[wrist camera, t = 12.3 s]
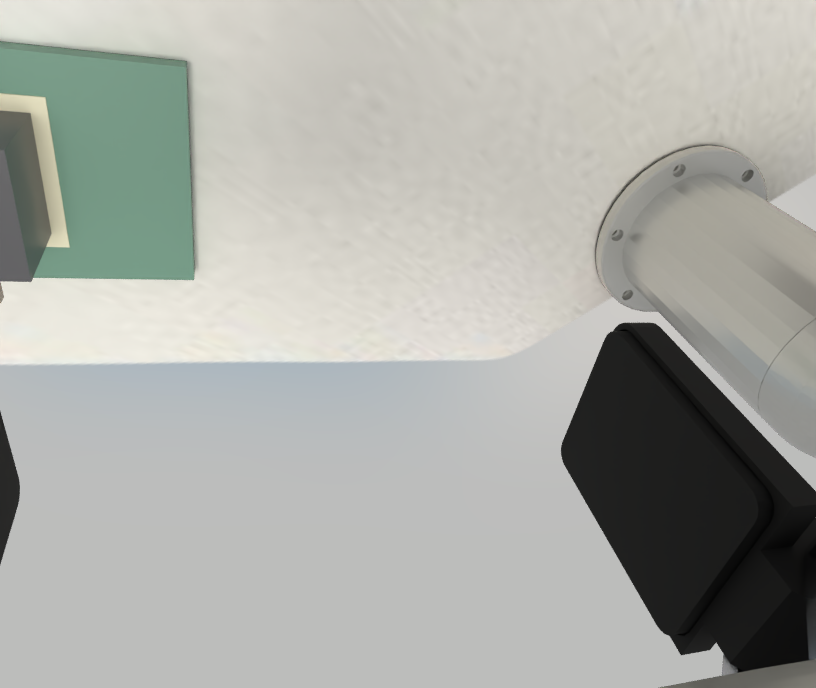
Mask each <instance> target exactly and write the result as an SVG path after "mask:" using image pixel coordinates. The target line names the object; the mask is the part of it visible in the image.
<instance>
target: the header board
mask: <svg viewBox="0 0 816 688" xmlns="http://www.w3.org/2000/svg"><path fill="white" fill-rule="evenodd" d="M0 111H13V112H25V113H31V119H32V124H33V130H34V136H35V142H36V147H37V153H38V159H39V164H40V170H41V176H42V181H43V187H44V193H45V199H46V204H47V210H48V216H49V221H50V227H51V233H52V234H51V236H50V239H49V241H48V243H47V246H46V248H45V251H44V253H43V255H42V258H41V260H40V262H39V265H38V267H37V269H36V272H35V274H34V276H33V278H94V279H164V280H194V244H193V218H192V192H191V166H190V139H189V113H188V87H187V61H179V60H170V59H160V58H151V57H142V56H132V55H123V54H113V53H104V52H94V51H85V50H75V49H66V48H57V47H47V46H38V45H28V44H19V43H9V42H0Z"/></svg>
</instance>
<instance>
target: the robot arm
mask: <svg viewBox="0 0 816 688" xmlns="http://www.w3.org/2000/svg"><path fill="white" fill-rule="evenodd" d="M596 265H597V270H598V275H599V277H600V279H601V281H602V283H603V285H604V287H605V288H606V289H607V290H608V292H609V293H610V294H611V295H612V296H613V297H614V298H615V299H616V300H617V301H618V302H620V303H621V304H623V305H625V306H627V307H629V308H631V309H635V310H640V311H658V312H659V313H660V314H661V315H662V316H663V317H664V318H665V319H666V320H667V321H668V322H669V323H670V324H671V325H672V326H673V327H674V328H675V329H676V330H677V331H678V332H679V333H680V334H681V335H682V336H683V337H684V338H685V339H686V340H687V341H688V343H690V345H691V346H692V347H694V348H695V350H696V351H697V352H698V353H699V354H700V355H701V356H702V357H703V358H704V359H705V360H706V361H707V362H708V363H709V364H710V365H711V366H712V367H713V368H714V369H715V370H716V371H717V372H718V373H719V374H720V375H721V376H722V377H723V378H724V379H725V380H726V381H727V383H728V384H729V385H730V386H731V387H733V389H734V390H735V391H736V392H737V393H738V394H739V395H740V396H741V397H742V398H743V399H744V400H745V401H746V402H747V403H748V404H749V405H750V406H751V407H752V408H753V409H754V410H755V411H756V412H757V413H758V414H759V415H760V416H761V417H762V418H763V419H764V420H765V421H766V422H767V423H768V424H769V425H770V426H771V427H772V428H773V429H774V430H775V431H776V432H777V433H778V434H779V435H780V436H781V437H782V438H783V439H785V440H786V441H787V442H788V443H789V444H791V445H792V446H794V447H795V448H797V449H798V450H800V451H802V452H804V453H806V454H808V455H810V456H813V457H815V458H816V232H815V231H813V230H812V229H810V228H809V227H807V226H806V225H804V224H803V223H801V222H799V221H798V220H796V219H795V218H793V217H791V216H789V215H788V214H787V213H785V212H783V211H782V210H780V209H779V208H777V207H775V206H774V205H772V204H771V203H769V202H767V190H766V186H765V181H764V178H763V176H762V175H761V173H760V171H759V169H758V168H757V167H756V166H755V165H754V164H753V163H752V162H751V161H750V160H749V159H748V158H746V157H745V156H743V155H741V154H740V153H738V152H736V151H733V150H731V149H728V148H725V147H720V146H709V145H708V146H700V147H692V148H689V149H686V150H682V151H679V152H676V153H674V154H672V155H670V156H668V157H666V158H664V159H662V160H660V161H658V162H657V163H655V164H654V165H652V166H651V167H650V168H648V169H647V170H645V171H644V172H642V173H641V174H640V175H639V176H638V177H637V178H636V179H635V180H634V181H633V182H632V183H631V184H630V185H629V186H628V187H627V188H626V189H625V190H624V191H623V193H622V194H621V195H620V196H619V198H618V199H617V200H616V201H615V203H614V205H613V206H612V208H611V210H610V211H609V213H608V215H607V216H606V219H605V221H604V224H603V226H602V228H601V231H600V234H599V238H598V243H597V247H596ZM561 455H562V460H563V463H564V465H565V467H566V469H567V470H568V472H569V474H570V475H571V477H572V479H573V481H574V482H575V484H576V486H577V487H578V489H579V491H580V493H581V495H582V496H583V498H584V500H585V502H586V503H587V505H588V507H589V508H590V510H591V512H592V514H593V515H594V517H595V519H596V521H597V522H598V524H599V526H600V528H601V529H602V531H603V532H604V534H605V536H606V538H607V540H608V541H609V543H610V545H611V546H612V548H613V550H614V552H615V553H616V555H617V557H618V559H619V560H620V562H621V564H622V566H623V567H624V569H625V571H626V573H627V574H628V576H629V578H630V580H631V581H632V583H633V585H634V586H635V588H636V590H637V592H638V593H639V595H640V597H641V599H642V600H643V602H644V604H645V605H646V607H647V609H648V611H649V612H650V614H651V616H652V618H653V619H654V621H655V623H656V625H657V626H658V627H659V629H660V630H661V631H662V632H663V633H664V634H666V635H669V636H670V637H671V639H672V640H673V642H674V644H675V646H676V647H677V649H678V651H679V652H680V654H681V655H685V654H690V653H696V652H701V651H707V650H710V649H711V648H712V647H713V645H714V644H715V643H716V642H717V644H718V646H719V647H720V649H721V650H722V652H723V653H724V655H723V667H722V676H719V677H713V678H708V679H703V680H697V681H692V682H687V683H681V684H676V685H671V686H666V687H660V688H816V491H815V490H814V489H813V488H812V487H811V486H810V485H809V484H808V483H807V482H806V481H805V480H804V479H803V478H802V477H801V475H800V474H799V473H798V472H797V471H796V470H795V469H794V468H793V467H792V466H791V465H790V464H789V463H788V462H787V461H786V460H785V458H784V457H783V456H782V455H781V454H780V453H779V452H778V451H777V450H776V449H775V448H774V447H773V446H772V445H771V444H770V443H769V442H768V441H767V440H766V438H765V437H763V435H762V434H761V433H760V432H759V431H758V430H757V429H756V428H755V427H754V426H753V425H752V424H751V423H750V422H749V420H747V418H746V417H745V416H744V415H743V414H742V413H741V412H740V411H739V410H738V409H737V408H736V407H735V406H734V405H733V404H732V403H731V401H730V400H729V399H728V398H727V397H726V396H725V395H724V394H723V393H722V392H721V391H720V390H719V389H718V388H717V387H716V386H715V385H714V384H713V383H712V382H711V380H710V379H709V378H708V377H707V376H706V375H705V374H704V373H703V372H702V371H701V370H700V369H699V368H698V367H697V366H696V365H695V364H694V363H693V361H692V360H690V358H689V357H688V356H687V355H686V354H685V353H684V352H683V351H682V350H681V349H680V348H679V347H678V346H677V345H676V343H675V342H674V341H673V340H672V339H671V338H670V337H669V336H668V335H667V334H666V333H665V332H664V331H663V330H662V329H661V328H660V327H659V326H658V325H656V324H654V323H622V324H619V325H618V326H617V327H616V328H615V329H614V331H613V332H610V333H609V334H608V335H607V336H606V338H605V340H604V342H603V345H602V347H601V350H600V352H599V354H598V357H597V359H596V362H595V364H594V367H593V369H592V372H591V374H590V376H589V379H588V381H587V384H586V386H585V389H584V391H583V394H582V396H581V398H580V401H579V403H578V406H577V408H576V411H575V413H574V415H573V418H572V420H571V423H570V425H569V428H568V430H567V433H566V435H565V437H564V440H563V442H562V447H561ZM19 494H20V485H19V478H18V474H17V470H16V467H15V463H14V460H13V456H12V452H11V448H10V445H9V441H8V438H7V434H6V431H5V427H4V423H3V420H2V416H1V412H0V564H1V560H2V557H3V553H4V550H5V547H6V543H7V540H8V536H9V533H10V530H11V527H12V523H13V520H14V517H15V513H16V510H17V507H18V502H19Z"/></svg>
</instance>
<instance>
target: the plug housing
mask: <svg viewBox="0 0 816 688" xmlns="http://www.w3.org/2000/svg"><path fill="white" fill-rule="evenodd" d="M51 234H52V233H51V227H50V221H49V216H48V210H47V204H46V199H45V193H44V187H43V181H42V176H41V170H40V164H39V159H38V153H37V147H36V142H35V136H34V130H33V124H32V119H31V113H25V112H13V111H0V281H18V282H31V281H32V279H33V276H34V274H35V272H36V269H37V267H38V265H39V262H40V260H41V258H42V255H43V253H44V251H45V248H46V246H47V243H48V241H49V239H50V236H51ZM3 298H4V295H3V291H2V287H1V283H0V303H1V302H2V300H3Z"/></svg>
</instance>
